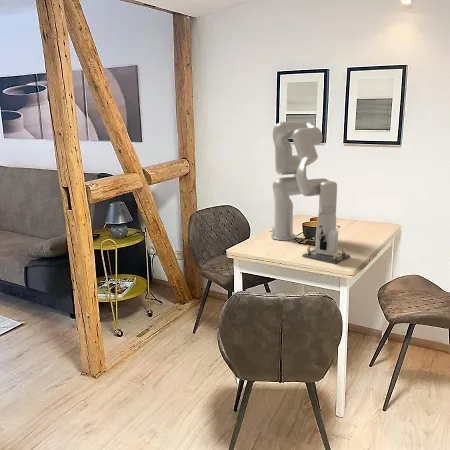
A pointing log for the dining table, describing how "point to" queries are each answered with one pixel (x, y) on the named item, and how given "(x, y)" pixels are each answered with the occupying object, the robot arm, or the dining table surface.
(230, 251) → the dining table surface
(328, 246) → the photo printer
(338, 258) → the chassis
